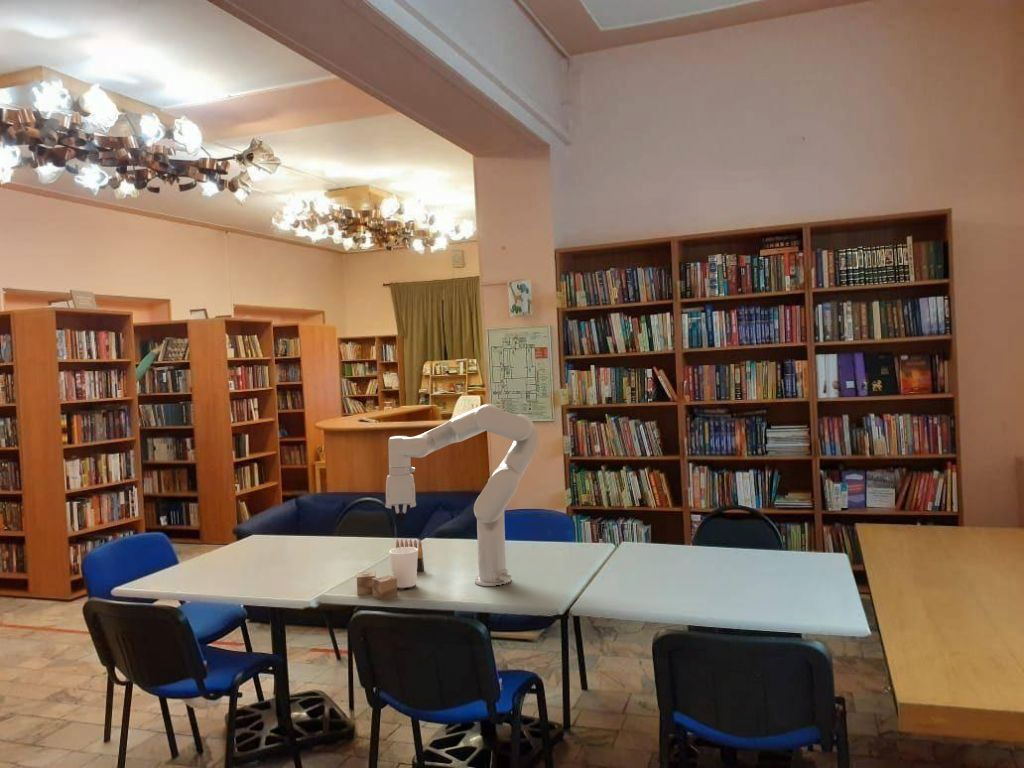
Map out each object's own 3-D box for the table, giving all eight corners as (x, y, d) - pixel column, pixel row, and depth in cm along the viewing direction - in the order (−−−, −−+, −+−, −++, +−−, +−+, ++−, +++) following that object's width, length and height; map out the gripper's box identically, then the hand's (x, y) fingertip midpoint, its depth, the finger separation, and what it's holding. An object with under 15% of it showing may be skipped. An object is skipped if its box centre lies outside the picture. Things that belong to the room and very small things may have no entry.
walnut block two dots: (397, 596, 246) (396, 577, 245) (381, 600, 242) (380, 581, 242) (388, 592, 250) (387, 574, 250) (372, 596, 247) (371, 577, 246)
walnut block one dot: (376, 588, 255) (375, 570, 255) (375, 593, 249) (374, 575, 249) (358, 590, 254) (357, 572, 254) (357, 595, 248) (356, 576, 248)
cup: (424, 583, 259) (422, 547, 259) (412, 591, 249) (411, 554, 249) (397, 582, 261) (396, 546, 261) (385, 590, 252) (384, 553, 252)
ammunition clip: (395, 571, 276) (394, 539, 276) (397, 570, 278) (395, 538, 278) (422, 572, 274) (421, 539, 274) (424, 570, 276) (423, 538, 276)
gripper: (421, 469, 264) (422, 520, 264) (378, 471, 261) (379, 522, 262) (421, 472, 256) (423, 525, 257) (377, 473, 254) (379, 527, 254)
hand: (401, 523), depth 259 cm, fingers closed
